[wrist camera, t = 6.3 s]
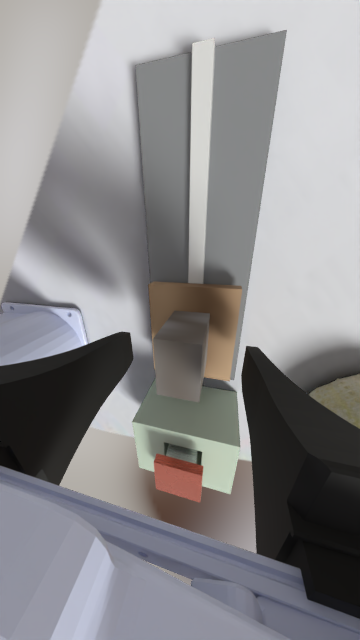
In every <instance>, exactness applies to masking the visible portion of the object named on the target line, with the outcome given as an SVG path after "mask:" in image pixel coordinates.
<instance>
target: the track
mask: <svg viewBox="0 0 360 640" xmlns="http://www.w3.org/2000/svg"><path fill="white" fill-rule="evenodd" d="M286 32H287V30H284V31H280V32H275V33H271V34H267V35H263V36H258V37H254V38H250V39H245V40H241V41H237V42H233V43H228V44H224V45H220V46H216V47H215V38H212V39H208V40H204V41H200V42H196V43H192V52H190V53H186V54H182V55H177V56H173V57H169V58H165V59H160V60H156V61H152V62H148V63H143V64H139V65H136V80H137V95H138V109H139V124H140V139H141V154H142V168H143V183H144V198H145V212H146V227H147V242H148V256H149V271H150V283H152V282H174V283H195V284H216V285H236V286H241V287H242V295H241V303H240V310H239V317H238V324H237V331H236V339H235V346H234V353H233V360H232V368H231V375H230V380H234V377H235V370H236V364H237V357H238V351H239V344H240V337H241V331H242V324H243V317H244V311H245V304H246V297H247V291H248V284H249V277H250V271H251V264H252V258H253V251H254V244H255V238H256V231H257V224H258V218H259V211H260V204H261V198H262V191H263V184H264V178H265V171H266V164H267V158H268V151H269V145H270V138H271V131H272V125H273V118H274V111H275V105H276V98H277V91H278V85H279V78H280V71H281V65H282V58H283V52H284V45H285V38H286Z"/></svg>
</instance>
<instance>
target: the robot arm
mask: <svg viewBox="0 0 360 640" xmlns="http://www.w3.org/2000/svg"><path fill="white" fill-rule="evenodd" d="M1 307H2V310H3V312H4V313H1V314H0V640H360V429H359V428H358V427H356V426H354V425H353V424H351V423H349V422H348V421H346V420H344V419H343V418H341V417H340V416H338V415H337V414H335V413H334V412H332V411H331V410H329V409H328V408H326V407H325V406H323V405H322V404H320V403H319V402H317V401H316V400H315V399H313V398H312V397H311V396H309V395H308V394H307V393H306V392H304V391H303V390H302V389H300V388H299V387H298V386H297V385H295V384H294V383H293V382H292V381H291V380H290V379H289V378H288V377H286V376H285V375H284V374H283V373H282V372H281V371H280V370H279V369H278V368H277V367H276V366H275V365H274V364H273V363H272V362H271V361H270V360H269V359H268V358H267V357H266V356H265V354H264V353H263V352H262V351H261V350H260V349H259V348H258V347H250V346H246V351H245V357H244V363H243V369H242V375H241V376H242V393H243V399H244V405H245V410H246V416H247V422H248V427H249V434H250V443H251V456H252V470H253V486H254V504H255V522H256V523H255V525H256V548H257V554H256V553H253V552H250V551H247V550H244V549H241V548H238V547H236V546H233V545H230V544H227V543H224V542H221V541H218V540H215V539H212V538H209V537H206V536H204V535H201V534H198V533H195V532H192V531H189V530H186V529H183V528H180V527H177V526H175V525H172V524H169V523H166V522H163V521H160V520H157V519H154V518H151V517H148V516H145V515H142V514H139V513H136V512H133V511H131V510H128V509H125V508H122V507H119V506H116V505H113V504H110V503H108V502H105V501H102V500H99V499H96V498H93V497H90V496H87V495H84V494H81V493H78V492H76V491H73V490H70V489H67V488H64V487H61V486H59V484H60V482H61V480H62V478H63V476H64V474H65V472H66V470H67V468H68V466H69V464H70V461H71V459H72V458H73V456H74V454H75V452H76V450H77V448H78V446H79V444H80V442H81V440H82V438H83V437H84V435H85V433H86V431H87V430H88V428H89V426H90V424H91V422H92V421H93V419H94V417H95V416H96V414H97V412H98V411H99V409H100V407H101V406H102V405H103V403H104V402H105V400H106V399H107V397H108V396H109V395H110V393H111V392H112V391H113V389H114V388H115V387H116V385H117V384H118V383H119V381H120V380H121V379H122V377H123V376H124V375H125V373H126V372H127V370H128V368H129V366H130V365H131V363H132V361H133V352H132V344H131V336H130V333H128V332H119V333H116V334H113V335H110V336H107V337H105V338H102V339H100V340H97V341H95V342H92V343H89V344H88V341H87V337H86V333H85V329H84V324H83V320H82V316H81V313H80V311H79V310H78V309H75V308H64V307H53V306H43V305H32V304H21V303H10V302H5V303H2V304H1ZM71 314H72V315H71ZM144 560H145V561H147V562H150V563H152V564H155V565H157V566H160V567H162V568H165V569H167V570H170V571H172V572H174V573H177V574H180V575H182V576H184V577H187V578H189V579H192V581H191V586H190V585H188V584H187V583H185V582H183V581H181V580H179V579H177V578H175V577H173V576H171V575H170V574H168V573H166V572H164V571H162V570H160V569H159V568H157V567H155V566H153V565H151V564H149V563H147V562H145V561H144Z"/></svg>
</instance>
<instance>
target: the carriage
mask: <svg viewBox="0 0 360 640" xmlns="http://www.w3.org/2000/svg"><path fill="white" fill-rule="evenodd" d="M148 289H149V303H150V316H151V330H152V344H153V357H154V369H155V375H156V389H157V395H162V396H168V397H173V398H178V399H183V400H188V401H193V402H199V401H200V395H201V389H202V384H203V378H204V377H206V378H212V379H218V380H225V381H230V375H231V368H232V360H233V353H234V346H235V339H236V331H237V324H238V317H239V310H240V303H241V295H242V287H241V286H236V285H216V284H195V283H174V282H152V283H150V284H148Z"/></svg>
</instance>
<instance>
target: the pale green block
mask: <svg viewBox="0 0 360 640" xmlns="http://www.w3.org/2000/svg"><path fill="white" fill-rule="evenodd" d="M132 424H133V430H134V437H135V443H136V449H137V455H138V462H139V467H140V468H143V469H146V470H150V471H153V472H154V460H155V457H156V454H161V455H165V456H166V455H167V451H168V448H169V444H173V445H177V446H181V447H185V448H189V449H193V450H197V451H198V453H197V464H198V465H202V466H203V478H202V486H204V487H208V488H211V489H214V490H218V491H221V492H225V493H228V494H231V489H232V484H233V480H234V475H235V470H236V465H237V460H238V456H239V451H240V435H239V419H238V403H237V392H233V391H228V390H222V389H216V388H210V387H204V386H202V389H201V395H200V401H199V402H193V401H188V400H183V399H178V398H173V397H168V396H162V395H157V389H156V378H155V380H154V381H153V383H152V385H151V387H150V389H149V391H148V393H147V395H146V397H145V398H144V400H143V402H142V404H141V406H140V408H139V410H138V412H137V414H136V415H135V417H134V419H133V421H132Z"/></svg>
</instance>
